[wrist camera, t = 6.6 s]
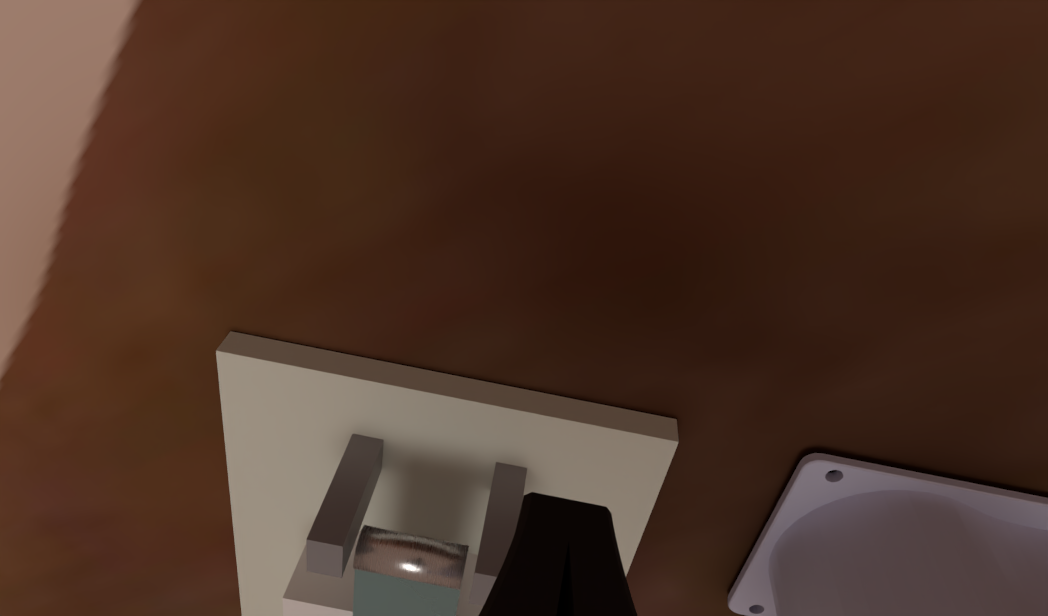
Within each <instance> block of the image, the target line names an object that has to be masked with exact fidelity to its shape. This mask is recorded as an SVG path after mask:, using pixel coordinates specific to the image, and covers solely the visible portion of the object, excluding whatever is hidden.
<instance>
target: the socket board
mask: <svg viewBox="0 0 1048 616" xmlns="http://www.w3.org/2000/svg"><path fill="white" fill-rule="evenodd" d="M216 357H217V367H218V377H219V387H220V397H221V408H222V418H223V428H224V438H225V448H226V459H227V469H228V479H229V489H230V499H231V510H232V520H233V530H234V540H235V550H236V561H237V571H238V581H239V591H240V601H241V612H242V616H353V597H354V575H355V569H353V561H354V555H355V550H356V546H357V542H358V539H359V535H360V533H361V530H362V528H363V526H364V525H368V526H373V527H378V528H383V529H388V530H393V531H398V532H403V533H408V534H413V535H418V536H423V537H428V538H434V539H439V540H444V541H449V542H454V543H459V544H464V545H469V548H468V554H467V559H466V564H465V569H464V575H463V580H462V585H461V591H460V596H459V601H458V607H457V612H456V616H478V615H479V614H480V612H481V610H482V608H483V606H484V604H485V602H486V600H487V597H488V595H489V593H490V591H491V589H492V587H493V584H494V582H495V580H496V578H497V576H498V574H499V572H500V569H501V567H502V565H503V563H504V560H505V558H506V555H507V553H508V550H509V548H510V545H511V543H512V540H513V537H514V534H515V530H516V526H517V522H518V518H519V514H520V509H521V505H522V501H523V497H524V495H526V494H528V493H531V492H535V493H540V494H545V495H550V496H555V497H560V498H565V499H570V500H575V501H580V502H585V503H590V504H595V505H601V506H606V507H607V508H608V509H609V511H610V512H611V514H612V520H613V526H614V531H615V536H616V540H617V545H618V549H619V553H620V557H621V561H622V565H623V569H624V573H625V576H626V575H627V572H628V570H629V567H630V565H631V562H632V560H633V557H634V555H635V552H636V550H637V547H638V544H639V542H640V539H641V537H642V534H643V532H644V529H645V527H646V524H647V522H648V519H649V516H650V514H651V511H652V509H653V506H654V504H655V501H656V499H657V496H658V494H659V491H660V488H661V486H662V483H663V481H664V478H665V476H666V473H667V471H668V468H669V466H670V463H671V460H672V458H673V455H674V453H675V450H676V448H677V445H678V443H679V439H678V429H677V419H673V418H668V417H663V416H658V415H653V414H648V413H643V412H638V411H633V410H627V409H622V408H617V407H612V406H607V405H602V404H597V403H592V402H587V401H582V400H577V399H572V398H567V397H562V396H557V395H551V394H546V393H541V392H536V391H531V390H526V389H521V388H516V387H511V386H506V385H501V384H496V383H491V382H486V381H481V380H475V379H470V378H465V377H460V376H455V375H450V374H445V373H440V372H435V371H430V370H425V369H420V368H415V367H410V366H405V365H399V364H394V363H389V362H384V361H379V360H374V359H369V358H364V357H359V356H354V355H349V354H344V353H339V352H334V351H329V350H323V349H318V348H313V347H308V346H303V345H298V344H293V343H288V342H283V341H278V340H273V339H268V338H263V337H258V336H253V335H247V334H242V333H237V332H232V331H230V333H229V334H228V335H227V337H226V338H225V339H224V341H223V342H222V343H221V345H220V346H219V347H218V349H217V350H216Z"/></svg>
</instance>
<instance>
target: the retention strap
mask: <svg viewBox="0 0 1048 616" xmlns="http://www.w3.org/2000/svg"><path fill="white" fill-rule="evenodd" d="M468 548H469V545H464V544H459V543H454V542H449V541H444V540H439V539H434V538H428V537H423V536H418V535H413V534H408V533H403V532H398V531H393V530H388V529H383V528H378V527H373V526H368V525H364V526H363V528H362V530H361V533H360V535H359V539H358V542H357V546H356V550H355V555H354V561H353V569H355V575H354V597H353V616H456V612H457V607H458V601H459V596H460V591H461V585H462V580H463V575H464V569H465V564H466V559H467V554H468Z"/></svg>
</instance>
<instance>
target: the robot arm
mask: <svg viewBox="0 0 1048 616" xmlns="http://www.w3.org/2000/svg"><path fill="white" fill-rule="evenodd" d="M832 470H837V471H836V472H833V473H828V472H829V471H832ZM727 599H728V606H729V608H730V610H732V611H733V612H735V613H738V614H742V615H747V616H1048V498H1046V497H1041V496H1036V495H1031V494H1025V493H1020V492H1015V491H1010V490H1005V489H1000V488H995V487H990V486H985V485H980V484H975V483H970V482H965V481H960V480H955V479H949V478H944V477H939V476H934V475H929V474H924V473H919V472H914V471H909V470H904V469H899V468H894V467H889V466H884V465H879V464H873V463H868V462H863V461H858V460H853V459H848V458H843V457H838V456H833V455H828V454H823V453H813V454H809V455H807V456H805V457H803V458H802V459H801V461H800V462H799V464H798V466H797V468H796V469H795V471H794V473H793V475H792V477H791V479H790V481H789V482H788V484H787V486H786V488H785V490H784V492H783V494H782V496H781V497H780V499H779V501H778V503H777V505H776V507H775V509H774V511H773V512H772V514H771V516H770V518H769V520H768V522H767V524H766V525H765V527H764V529H763V531H762V533H761V535H760V537H759V539H758V540H757V542H756V544H755V546H754V548H753V550H752V552H751V554H750V555H749V557H748V559H747V561H746V563H745V565H744V567H743V568H742V570H741V572H740V574H739V576H738V578H737V580H736V582H735V583H734V585H733V587H732V589H731V591H730V593H729V595H728V598H727ZM478 616H637V613H636V610H635V607H634V604H633V601H632V597H631V594H630V591H629V587H628V584H627V580H626V576H625V573H624V569H623V565H622V561H621V557H620V553H619V549H618V545H617V540H616V536H615V531H614V526H613V520H612V514H611V512H610V511H609V509H608V508H607V507H606V506H601V505H595V504H590V503H585V502H580V501H575V500H570V499H565V498H560V497H555V496H550V495H545V494H540V493H535V492H531V493H528V494H526V495H524V497H523V501H522V505H521V509H520V514H519V518H518V522H517V526H516V530H515V534H514V537H513V540H512V543H511V545H510V548H509V550H508V553H507V555H506V558H505V560H504V563H503V565H502V567H501V569H500V572H499V574H498V576H497V578H496V580H495V582H494V584H493V587H492V589H491V591H490V593H489V595H488V597H487V600H486V602H485V604H484V606H483V608H482V610H481V612H480V614H479V615H478Z"/></svg>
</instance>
